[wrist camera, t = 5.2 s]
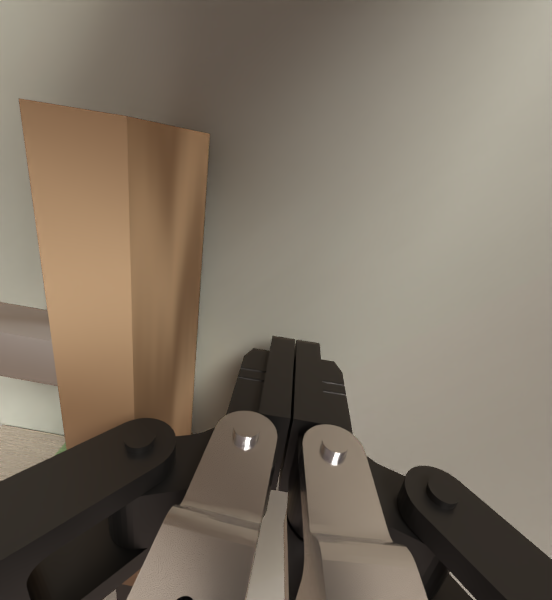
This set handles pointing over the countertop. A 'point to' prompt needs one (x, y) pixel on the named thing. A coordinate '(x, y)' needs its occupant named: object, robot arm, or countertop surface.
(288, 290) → the countertop surface
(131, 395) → the tan wooden bar
